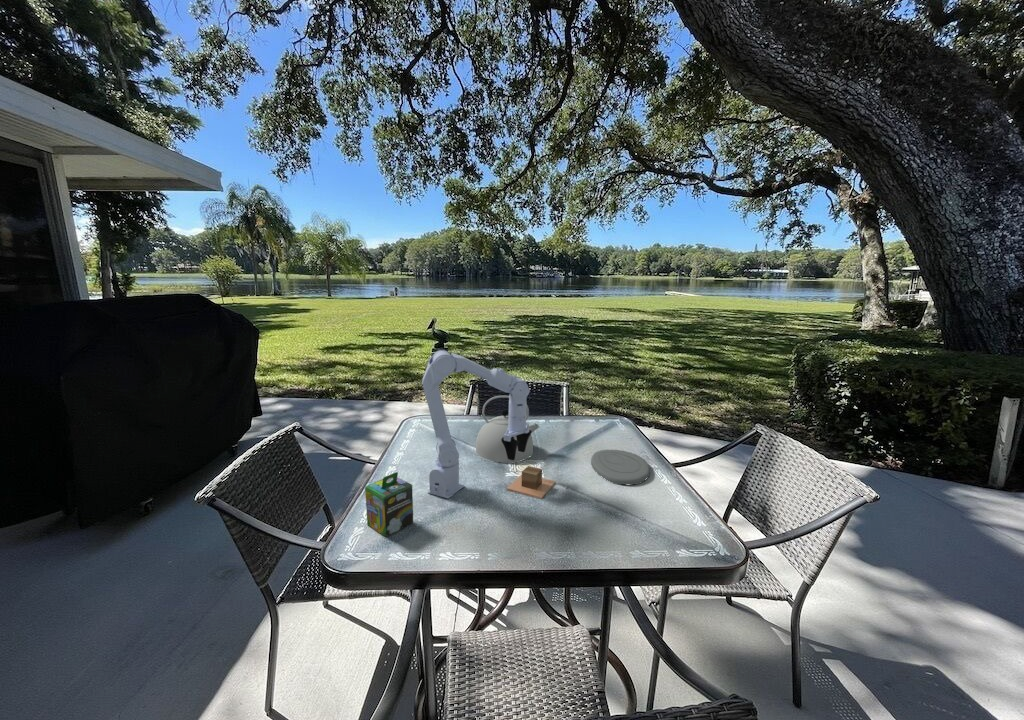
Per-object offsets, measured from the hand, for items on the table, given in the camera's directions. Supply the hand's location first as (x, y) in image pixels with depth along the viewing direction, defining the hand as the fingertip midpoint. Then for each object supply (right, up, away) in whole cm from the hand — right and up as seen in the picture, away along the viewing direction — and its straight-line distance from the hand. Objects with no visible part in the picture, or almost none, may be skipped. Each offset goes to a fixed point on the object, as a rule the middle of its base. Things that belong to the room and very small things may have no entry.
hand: (516, 455), depth 139 cm
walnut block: (+5, -9, -2) cm, 11 cm away
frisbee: (+38, -8, +13) cm, 41 cm away
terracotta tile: (+5, -10, -1) cm, 11 cm away
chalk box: (-34, -13, -24) cm, 44 cm away
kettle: (-3, -5, +28) cm, 28 cm away
